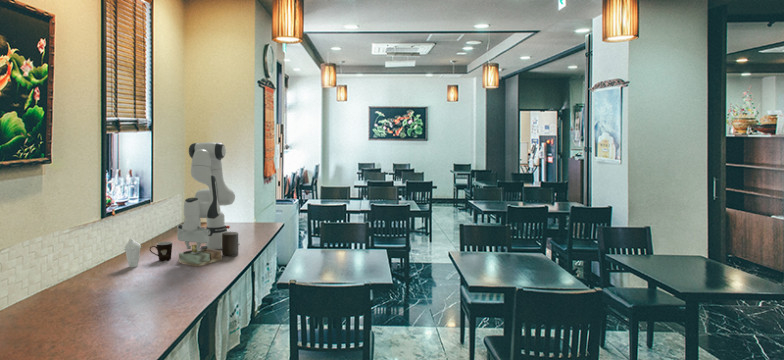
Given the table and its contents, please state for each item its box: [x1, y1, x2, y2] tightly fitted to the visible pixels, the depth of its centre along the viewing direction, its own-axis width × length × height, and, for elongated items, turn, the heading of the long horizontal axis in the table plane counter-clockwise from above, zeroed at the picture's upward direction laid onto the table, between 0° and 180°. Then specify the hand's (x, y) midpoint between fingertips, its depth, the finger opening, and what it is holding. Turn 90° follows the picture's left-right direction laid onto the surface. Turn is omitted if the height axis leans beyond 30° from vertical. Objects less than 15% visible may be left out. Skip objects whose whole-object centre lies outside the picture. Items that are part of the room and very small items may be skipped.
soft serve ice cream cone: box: [123, 238, 142, 268], centre depth 262 cm, size 8×8×16 cm
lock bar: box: [191, 243, 207, 254], centre depth 274 cm, size 12×4×5 cm, turn 168°
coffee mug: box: [149, 241, 173, 262], centre depth 277 cm, size 12×9×10 cm
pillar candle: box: [221, 231, 239, 258], centre depth 289 cm, size 10×10×15 cm
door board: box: [178, 247, 222, 268], centre depth 274 cm, size 17×16×7 cm
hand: (193, 249), depth 270 cm, fingers open, 5 cm apart
